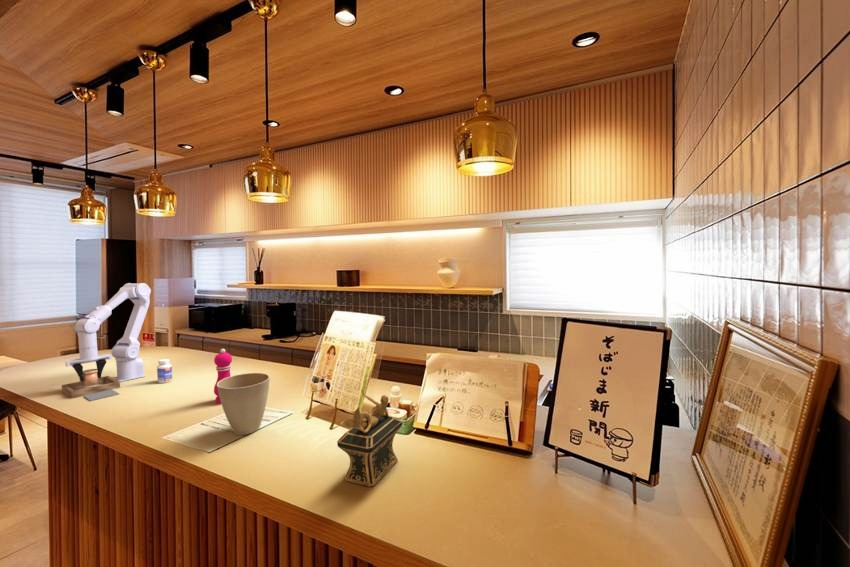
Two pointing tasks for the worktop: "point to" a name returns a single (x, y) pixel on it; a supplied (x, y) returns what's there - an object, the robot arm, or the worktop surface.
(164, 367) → the pill bottle
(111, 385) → the frame
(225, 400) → the plant pot
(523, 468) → the worktop surface
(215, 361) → the pepper mill
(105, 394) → the slate mat
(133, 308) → the robot arm
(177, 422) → the worktop surface
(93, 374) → the terracotta pot
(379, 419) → the decorative box
